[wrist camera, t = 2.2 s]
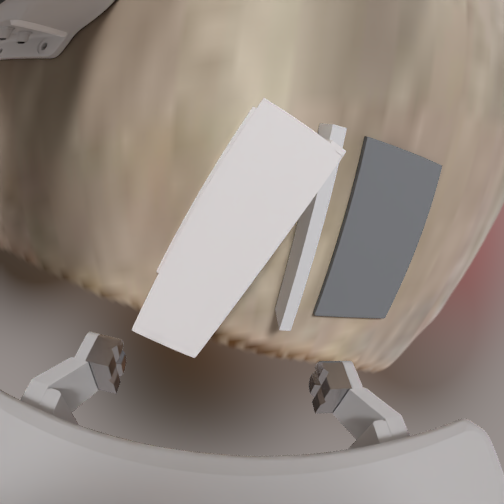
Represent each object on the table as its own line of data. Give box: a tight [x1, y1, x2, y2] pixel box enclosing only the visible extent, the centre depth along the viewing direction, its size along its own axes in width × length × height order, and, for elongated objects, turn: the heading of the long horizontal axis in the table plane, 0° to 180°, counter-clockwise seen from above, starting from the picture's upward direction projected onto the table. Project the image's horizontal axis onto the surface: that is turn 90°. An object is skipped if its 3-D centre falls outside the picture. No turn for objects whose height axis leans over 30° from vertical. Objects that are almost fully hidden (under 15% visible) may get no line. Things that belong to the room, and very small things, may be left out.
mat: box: [313, 136, 442, 318], centre depth 28 cm, size 10×20×1 cm, turn 170°
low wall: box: [275, 123, 347, 331], centre depth 25 cm, size 1×20×4 cm, turn 171°
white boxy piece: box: [132, 98, 346, 358], centre depth 22 cm, size 20×6×9 cm, turn 147°
